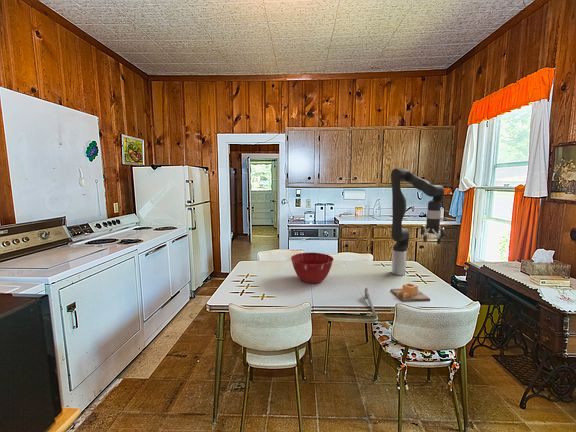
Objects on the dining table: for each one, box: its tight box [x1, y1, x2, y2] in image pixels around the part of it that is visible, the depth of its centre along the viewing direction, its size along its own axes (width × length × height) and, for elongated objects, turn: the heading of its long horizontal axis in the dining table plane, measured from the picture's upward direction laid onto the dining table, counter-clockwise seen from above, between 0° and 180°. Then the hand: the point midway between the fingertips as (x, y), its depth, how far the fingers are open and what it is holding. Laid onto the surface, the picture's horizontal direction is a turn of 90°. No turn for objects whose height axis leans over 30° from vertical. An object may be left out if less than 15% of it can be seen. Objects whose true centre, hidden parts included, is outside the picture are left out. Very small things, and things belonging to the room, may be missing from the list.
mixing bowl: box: [290, 252, 335, 284], centre depth 200 cm, size 28×28×15 cm
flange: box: [396, 282, 419, 298], centre depth 172 cm, size 12×6×5 cm, turn 125°
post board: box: [390, 286, 431, 302], centre depth 174 cm, size 16×16×6 cm
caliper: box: [364, 287, 376, 313], centre depth 162 cm, size 20×1×6 cm, turn 178°
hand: (431, 243), depth 186 cm, fingers open, 8 cm apart
